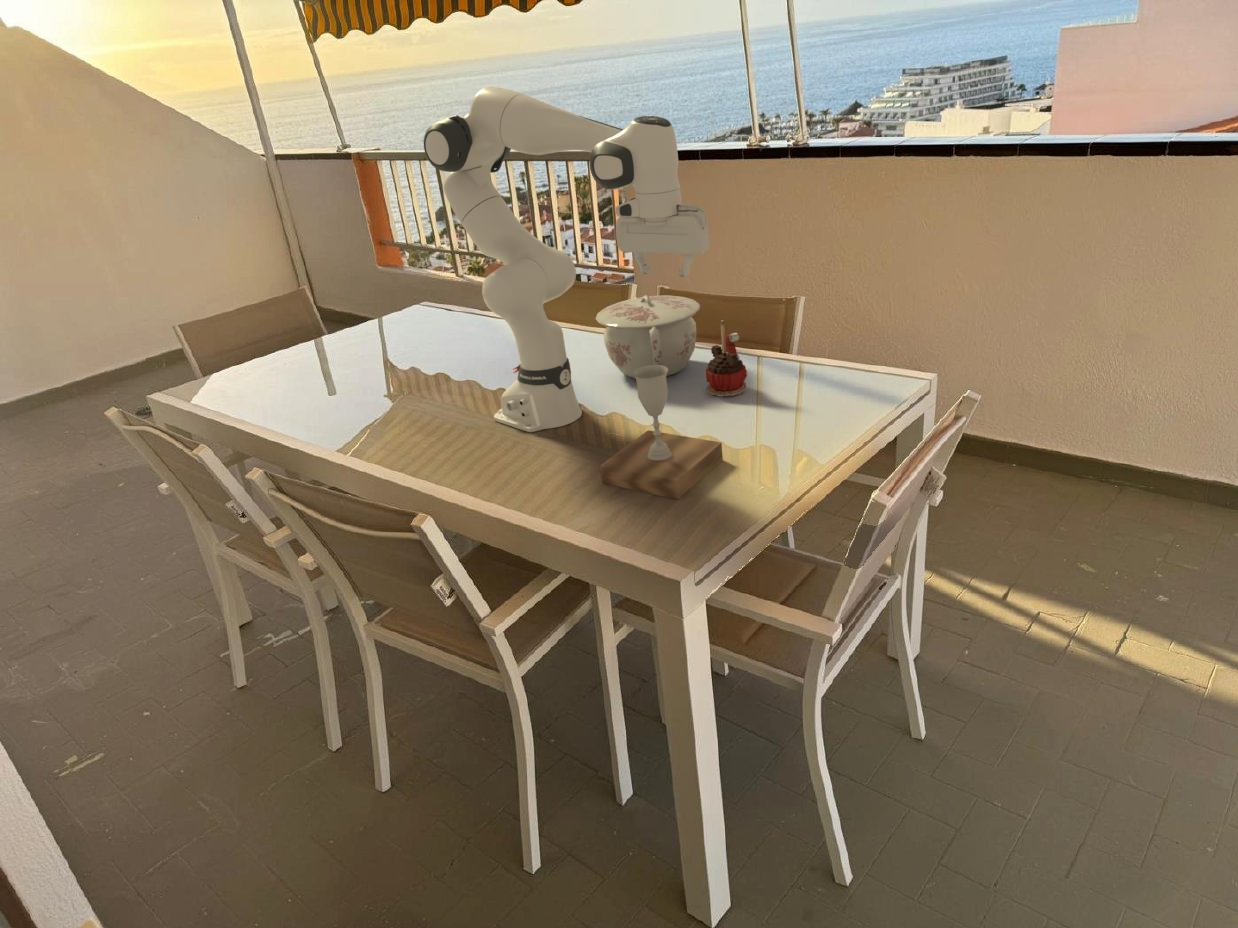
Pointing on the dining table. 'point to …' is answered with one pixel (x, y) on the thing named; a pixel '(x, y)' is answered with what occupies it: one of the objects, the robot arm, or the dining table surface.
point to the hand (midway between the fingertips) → (665, 274)
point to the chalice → (654, 403)
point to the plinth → (662, 465)
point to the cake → (726, 367)
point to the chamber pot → (650, 332)
